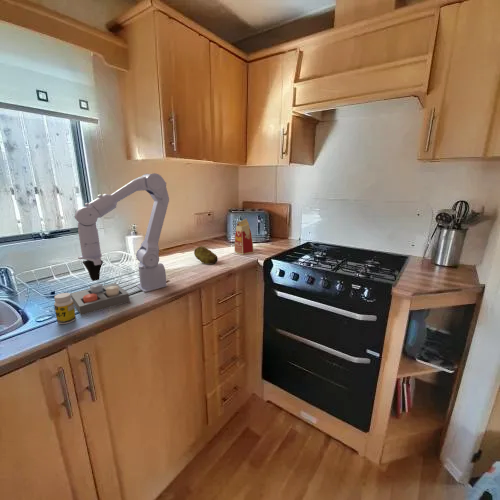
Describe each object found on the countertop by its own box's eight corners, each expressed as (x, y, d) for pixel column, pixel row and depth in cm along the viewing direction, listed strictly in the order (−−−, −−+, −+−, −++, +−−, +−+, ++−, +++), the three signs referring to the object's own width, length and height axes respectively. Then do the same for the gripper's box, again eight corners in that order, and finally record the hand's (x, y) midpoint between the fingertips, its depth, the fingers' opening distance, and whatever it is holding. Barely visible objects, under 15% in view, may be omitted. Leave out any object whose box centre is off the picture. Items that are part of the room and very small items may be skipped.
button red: (96, 301, 95) (95, 292, 94) (99, 304, 92) (98, 296, 91) (83, 304, 92) (81, 295, 91) (86, 308, 89) (84, 299, 89)
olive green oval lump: (206, 267, 134) (205, 251, 132) (192, 261, 144) (191, 246, 142) (219, 263, 140) (219, 248, 138) (205, 258, 149) (204, 244, 147)
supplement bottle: (53, 324, 82) (48, 298, 80) (66, 316, 86) (61, 291, 84) (67, 325, 81) (62, 299, 79) (79, 317, 85) (75, 292, 83)
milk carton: (245, 249, 168) (245, 217, 163) (254, 253, 160) (254, 219, 155) (232, 251, 163) (232, 218, 158) (241, 255, 156) (240, 220, 151)
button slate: (102, 290, 101) (100, 282, 100) (105, 294, 98) (104, 285, 98) (89, 293, 99) (88, 285, 98) (92, 297, 96) (91, 288, 95)
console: (116, 290, 107) (115, 282, 106) (129, 301, 97) (128, 293, 96) (71, 301, 97) (70, 293, 96) (81, 315, 87) (79, 306, 86)
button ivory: (117, 293, 99) (116, 284, 98) (121, 296, 96) (120, 288, 96) (105, 296, 97) (104, 287, 96) (108, 299, 94) (107, 291, 93)
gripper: (71, 240, 96) (77, 277, 100) (81, 248, 86) (87, 288, 89) (94, 238, 101) (99, 273, 104) (105, 244, 90) (111, 283, 94)
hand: (95, 279), depth 97 cm, fingers closed
